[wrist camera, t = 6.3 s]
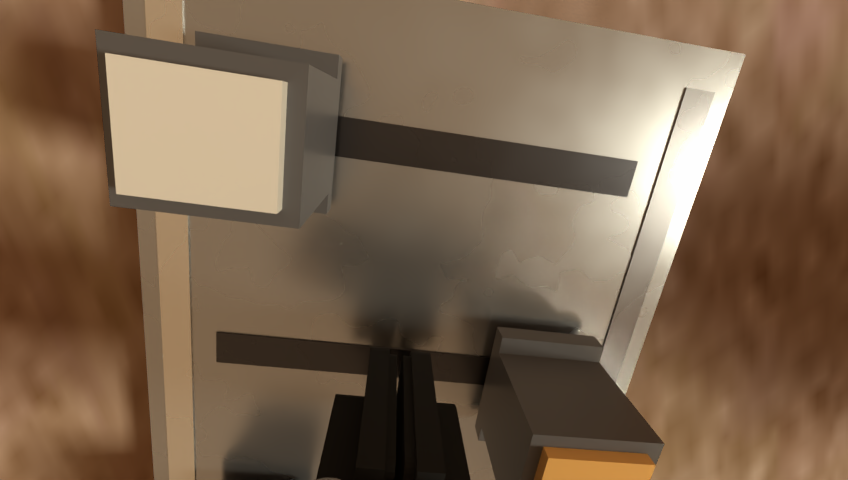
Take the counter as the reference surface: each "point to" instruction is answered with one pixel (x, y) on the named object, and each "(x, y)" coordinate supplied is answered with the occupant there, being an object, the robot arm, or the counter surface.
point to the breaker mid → (559, 412)
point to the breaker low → (219, 127)
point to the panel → (423, 220)
